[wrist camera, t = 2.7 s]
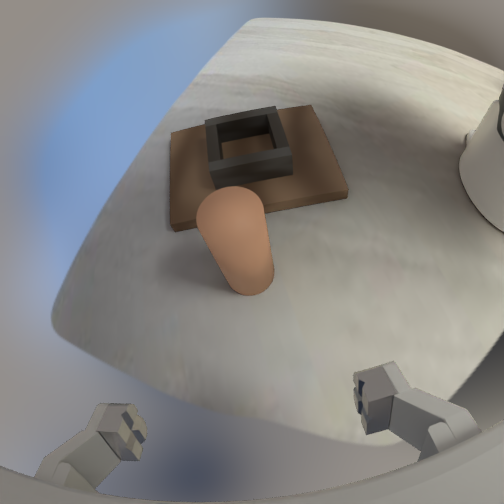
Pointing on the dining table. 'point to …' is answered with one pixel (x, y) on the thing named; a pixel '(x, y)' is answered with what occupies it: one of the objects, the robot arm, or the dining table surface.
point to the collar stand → (254, 161)
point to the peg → (238, 238)
